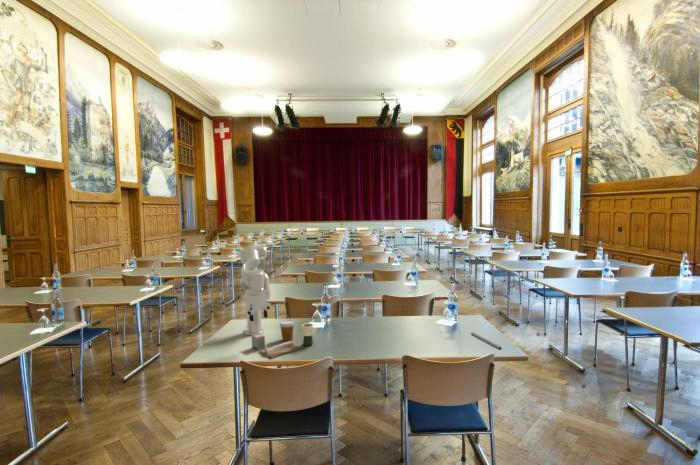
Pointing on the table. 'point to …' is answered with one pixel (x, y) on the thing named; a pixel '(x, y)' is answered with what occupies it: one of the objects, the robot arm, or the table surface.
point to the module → (258, 342)
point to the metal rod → (486, 340)
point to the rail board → (277, 353)
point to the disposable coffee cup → (287, 329)
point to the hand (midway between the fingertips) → (258, 319)
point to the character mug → (307, 333)
